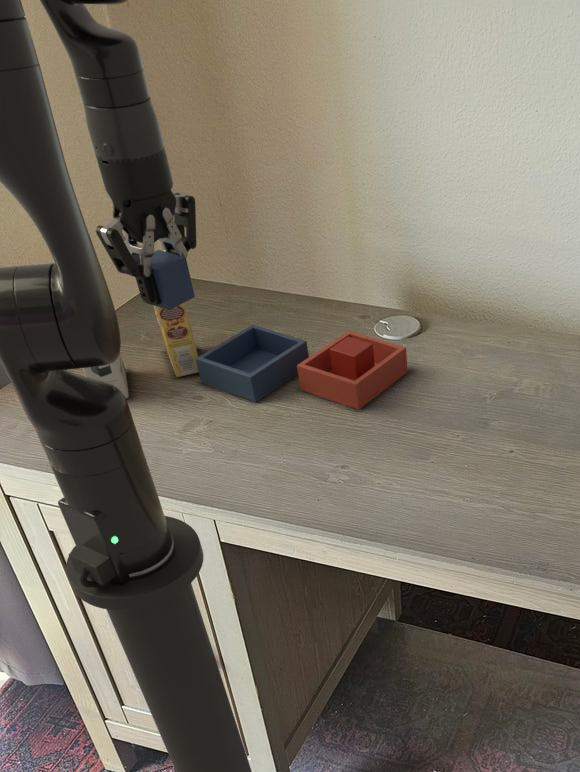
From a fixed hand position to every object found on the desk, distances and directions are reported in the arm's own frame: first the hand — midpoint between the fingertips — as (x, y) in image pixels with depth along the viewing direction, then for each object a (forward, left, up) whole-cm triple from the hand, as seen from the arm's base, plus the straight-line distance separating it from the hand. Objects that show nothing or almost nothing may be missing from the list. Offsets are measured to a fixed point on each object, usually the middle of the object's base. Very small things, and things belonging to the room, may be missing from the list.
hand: (168, 295), depth 108 cm
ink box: (0, +18, -18) cm, 25 cm away
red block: (+20, -12, -17) cm, 29 cm away
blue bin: (+14, +2, -18) cm, 23 cm away
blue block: (0, 0, -1) cm, 1 cm away
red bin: (+20, -12, -18) cm, 29 cm away
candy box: (+11, +14, -18) cm, 25 cm away
